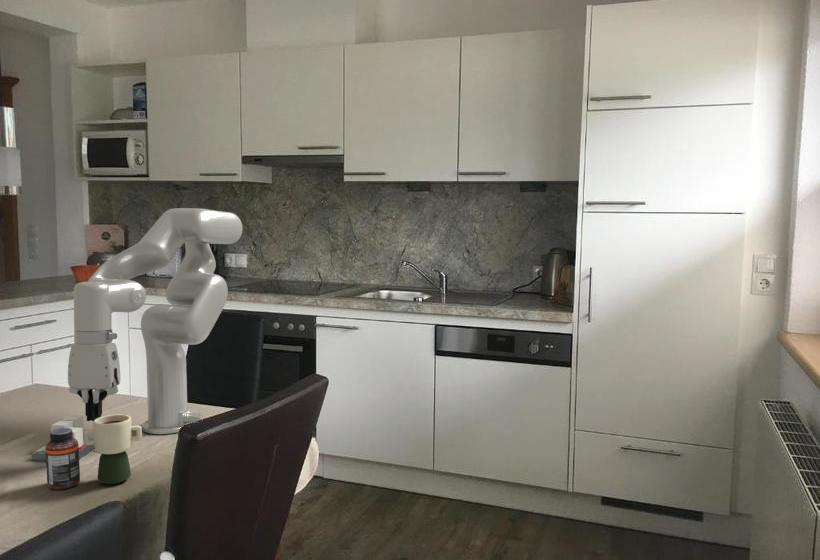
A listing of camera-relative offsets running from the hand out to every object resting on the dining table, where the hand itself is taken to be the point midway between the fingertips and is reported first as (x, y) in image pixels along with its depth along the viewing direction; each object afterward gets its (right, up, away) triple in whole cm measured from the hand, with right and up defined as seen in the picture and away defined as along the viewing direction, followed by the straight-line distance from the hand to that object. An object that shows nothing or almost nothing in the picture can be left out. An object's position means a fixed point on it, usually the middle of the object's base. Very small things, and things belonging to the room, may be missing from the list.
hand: (93, 419), depth 151 cm
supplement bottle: (+1, -11, -14) cm, 18 cm away
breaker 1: (-10, -6, +7) cm, 14 cm away
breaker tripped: (-6, -7, +2) cm, 9 cm away
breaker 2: (-10, -6, +11) cm, 16 cm away
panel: (-8, -8, +7) cm, 13 cm away
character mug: (+10, -10, -12) cm, 19 cm away
